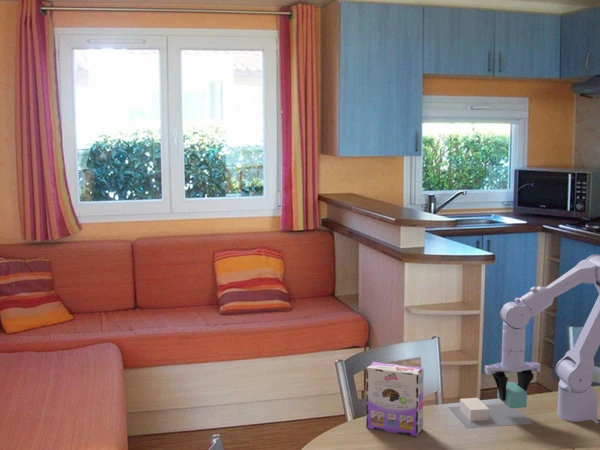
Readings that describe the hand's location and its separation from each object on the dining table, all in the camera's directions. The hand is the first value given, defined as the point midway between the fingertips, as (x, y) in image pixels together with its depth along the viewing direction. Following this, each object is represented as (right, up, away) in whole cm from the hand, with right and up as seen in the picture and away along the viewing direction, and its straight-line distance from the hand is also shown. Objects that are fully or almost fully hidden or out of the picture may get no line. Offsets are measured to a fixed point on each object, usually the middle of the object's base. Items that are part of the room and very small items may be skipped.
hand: (511, 398), depth 194 cm
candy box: (-31, -7, -4) cm, 32 cm away
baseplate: (-5, -6, +2) cm, 8 cm away
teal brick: (0, -1, 0) cm, 1 cm away
